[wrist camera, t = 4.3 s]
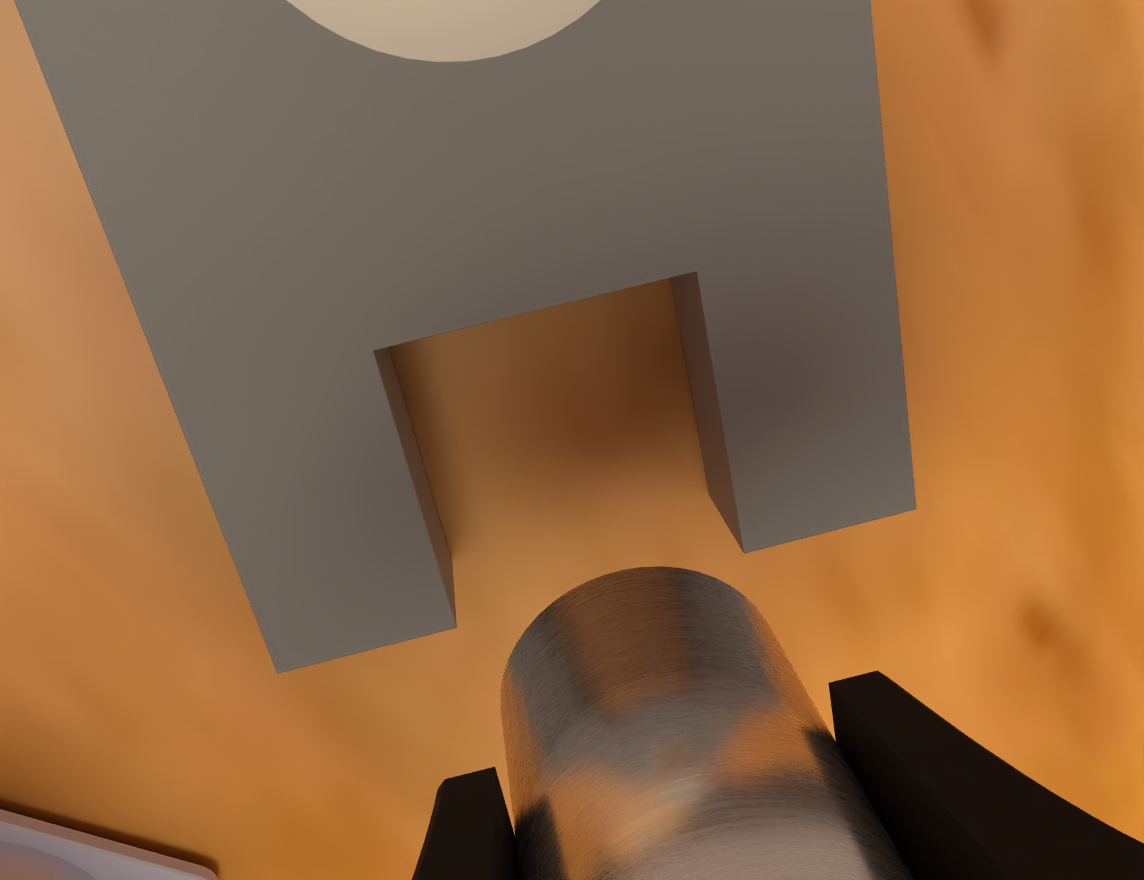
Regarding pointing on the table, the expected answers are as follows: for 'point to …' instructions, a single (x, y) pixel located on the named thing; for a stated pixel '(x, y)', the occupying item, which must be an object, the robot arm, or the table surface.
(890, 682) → the robot arm
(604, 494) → the table surface
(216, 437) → the notched board
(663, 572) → the peg
